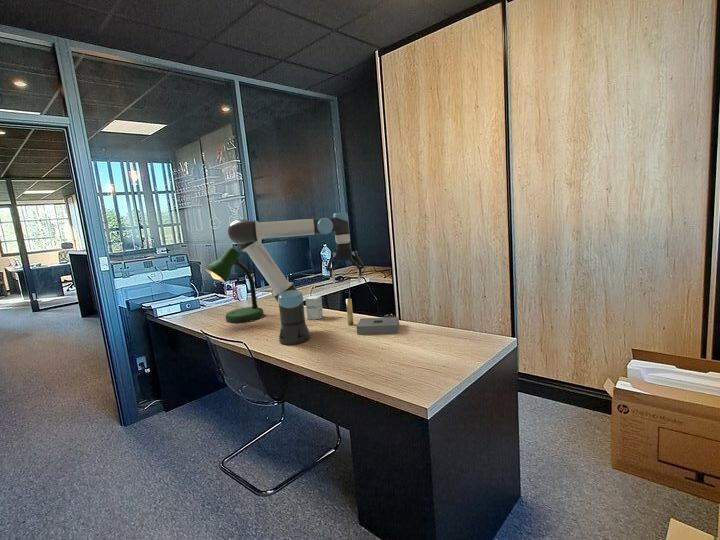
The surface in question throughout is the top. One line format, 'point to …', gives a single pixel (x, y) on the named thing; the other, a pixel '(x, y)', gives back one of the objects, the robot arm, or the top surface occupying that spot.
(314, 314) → the supplement box
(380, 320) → the bore block
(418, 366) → the top surface
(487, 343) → the top surface
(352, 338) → the top surface
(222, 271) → the desk lamp
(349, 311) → the brass pin
